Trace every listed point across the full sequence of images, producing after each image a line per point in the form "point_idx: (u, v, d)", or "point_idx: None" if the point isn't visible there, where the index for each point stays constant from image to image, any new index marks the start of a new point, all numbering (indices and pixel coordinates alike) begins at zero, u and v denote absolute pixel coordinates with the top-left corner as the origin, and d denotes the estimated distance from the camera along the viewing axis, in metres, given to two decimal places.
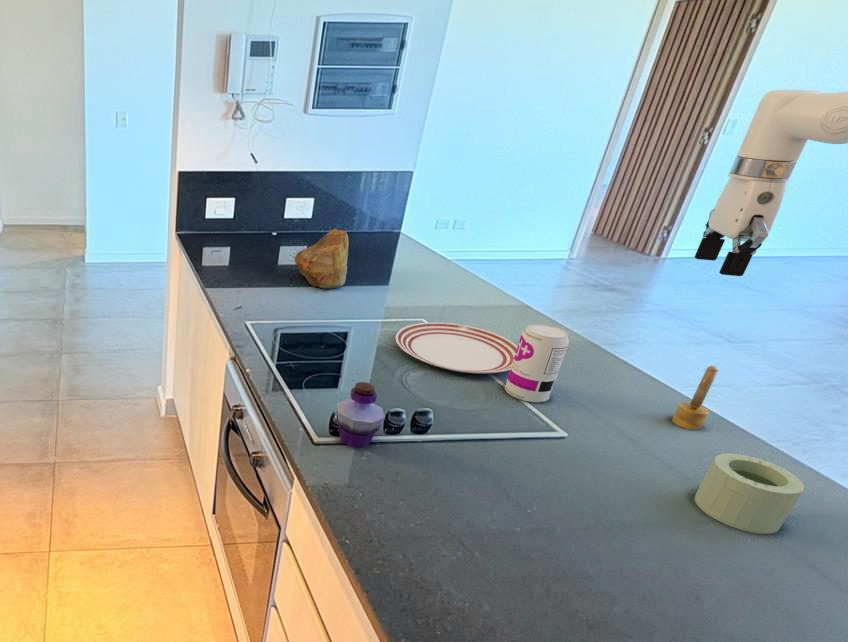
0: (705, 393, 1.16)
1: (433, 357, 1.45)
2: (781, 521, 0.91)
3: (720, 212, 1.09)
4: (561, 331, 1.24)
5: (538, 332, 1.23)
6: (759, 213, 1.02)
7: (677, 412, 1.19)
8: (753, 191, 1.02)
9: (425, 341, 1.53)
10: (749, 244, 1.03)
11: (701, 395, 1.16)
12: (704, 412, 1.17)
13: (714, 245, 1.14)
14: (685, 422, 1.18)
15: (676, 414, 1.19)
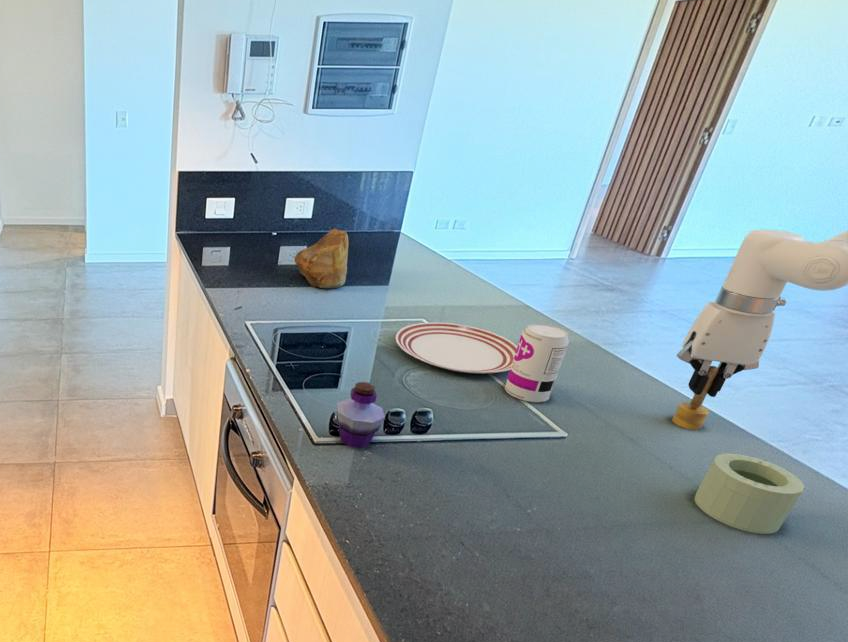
0: (705, 393, 1.16)
1: (433, 357, 1.45)
2: (781, 521, 0.91)
3: (724, 345, 1.10)
4: (561, 331, 1.24)
5: (538, 332, 1.23)
6: None
7: (677, 412, 1.19)
8: None
9: (425, 341, 1.53)
10: (743, 368, 1.12)
11: (701, 395, 1.16)
12: (704, 412, 1.17)
13: None
14: (685, 422, 1.18)
15: (676, 414, 1.19)
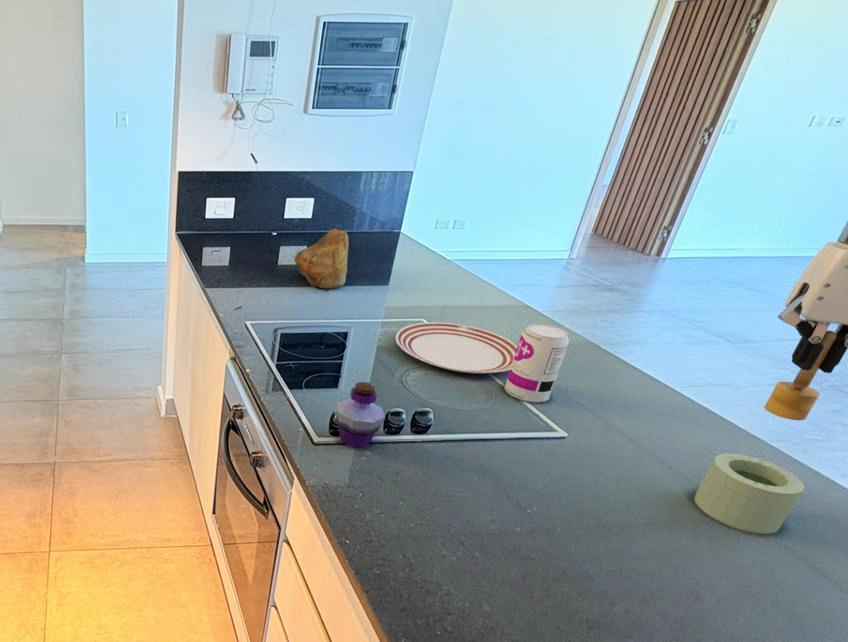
0: (816, 368, 0.86)
1: (433, 357, 1.45)
2: (781, 521, 0.91)
3: None
4: (561, 331, 1.24)
5: (538, 332, 1.23)
6: None
7: (774, 394, 0.89)
8: None
9: (425, 341, 1.53)
10: None
11: (810, 371, 0.86)
12: (814, 394, 0.86)
13: None
14: (785, 408, 0.88)
15: (772, 397, 0.89)
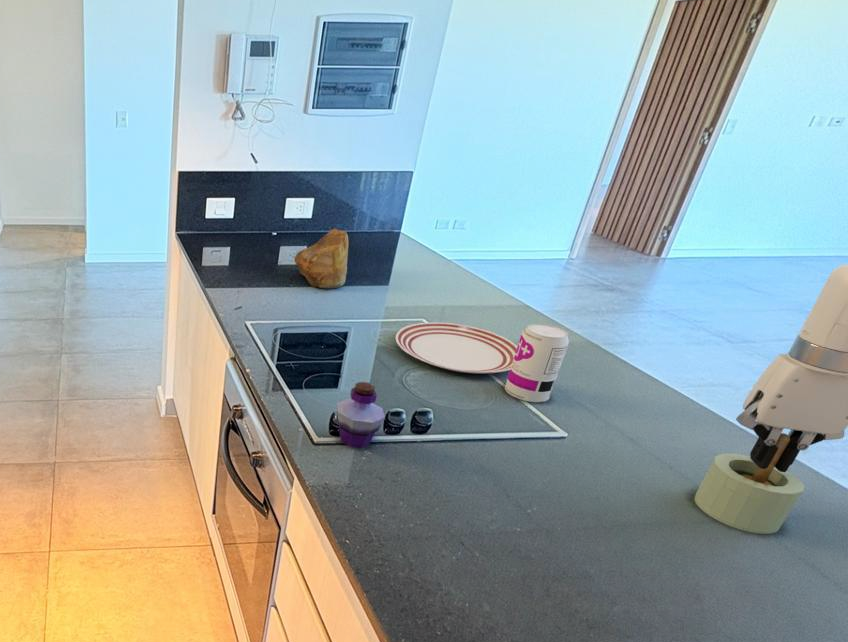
0: (772, 467, 0.92)
1: (433, 357, 1.45)
2: (781, 521, 0.91)
3: (800, 410, 0.86)
4: (561, 331, 1.24)
5: (538, 332, 1.23)
6: None
7: None
8: None
9: (425, 341, 1.53)
10: (823, 438, 0.88)
11: (767, 469, 0.92)
12: None
13: None
14: None
15: None
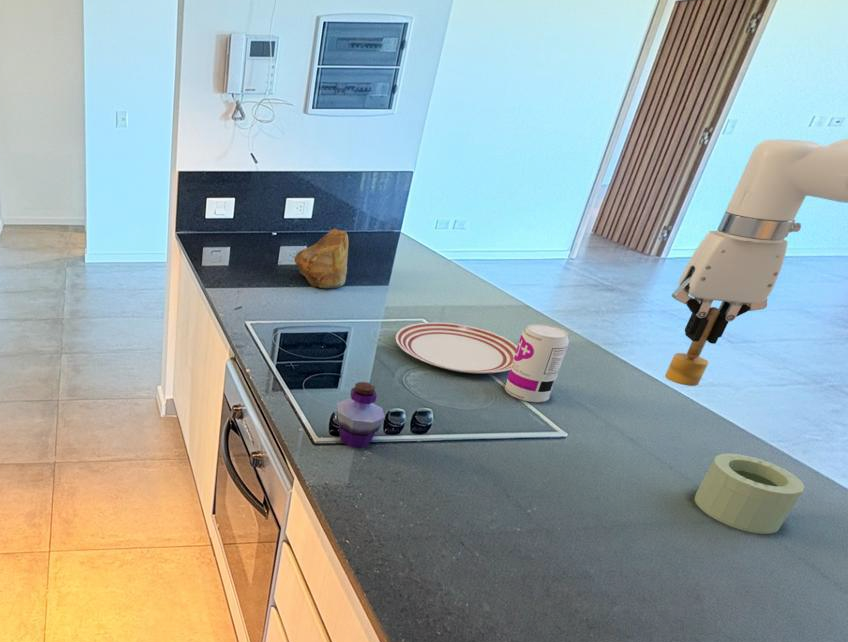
0: (704, 340, 0.99)
1: (433, 357, 1.45)
2: (781, 521, 0.91)
3: (727, 280, 0.94)
4: (561, 331, 1.24)
5: (538, 332, 1.23)
6: None
7: (671, 363, 1.03)
8: (785, 253, 0.91)
9: (425, 341, 1.53)
10: (748, 309, 0.96)
11: (699, 342, 1.00)
12: (702, 363, 1.00)
13: None
14: (679, 375, 1.02)
15: (670, 366, 1.03)
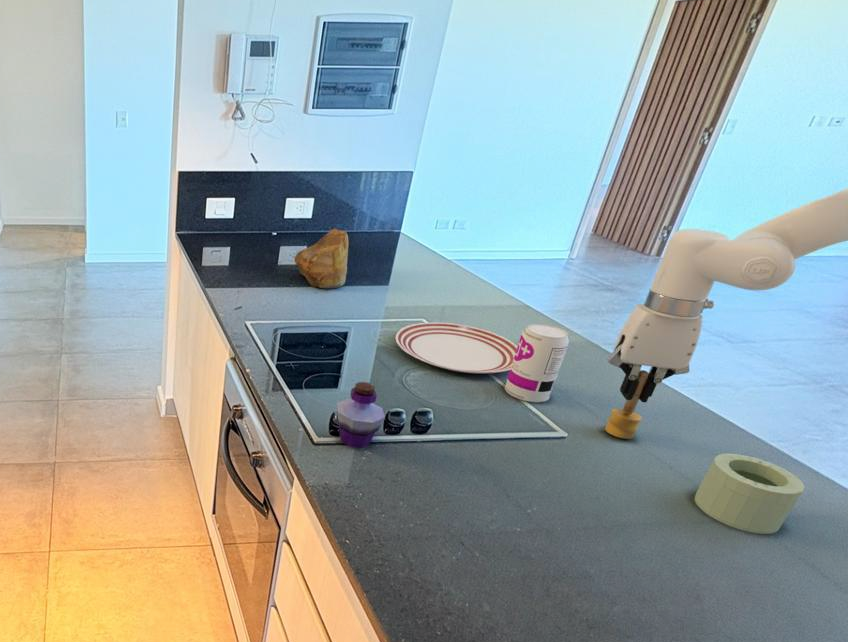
0: (636, 398, 1.12)
1: (433, 357, 1.45)
2: (781, 521, 0.91)
3: (652, 349, 1.06)
4: (561, 331, 1.24)
5: (538, 332, 1.23)
6: None
7: (610, 418, 1.15)
8: None
9: (425, 341, 1.53)
10: (673, 373, 1.08)
11: (632, 400, 1.12)
12: (636, 418, 1.12)
13: None
14: (616, 429, 1.14)
15: (609, 420, 1.16)
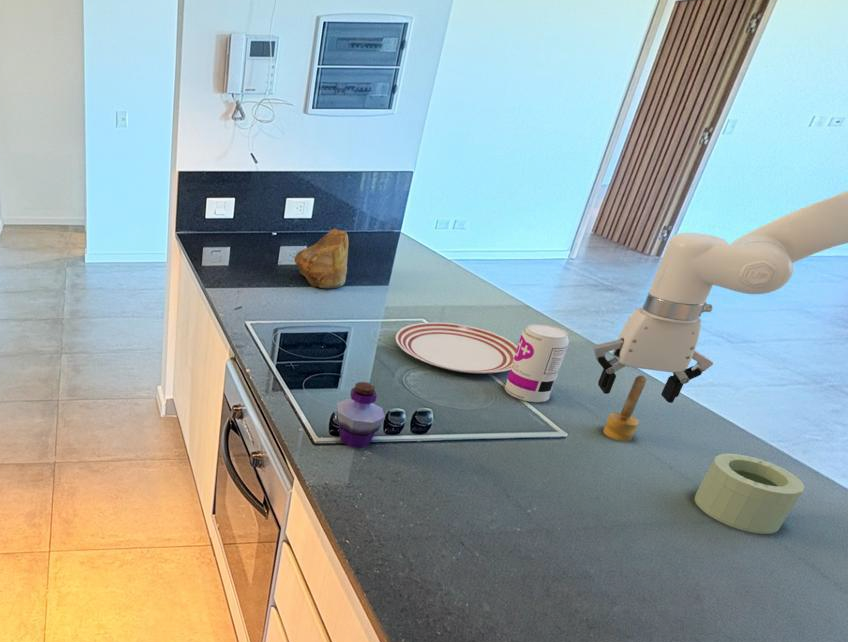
0: (634, 403, 1.12)
1: (433, 357, 1.45)
2: (781, 521, 0.91)
3: (651, 352, 1.07)
4: (561, 331, 1.24)
5: (538, 332, 1.23)
6: None
7: (607, 422, 1.16)
8: (699, 330, 1.03)
9: (425, 341, 1.53)
10: (701, 373, 1.07)
11: (630, 405, 1.12)
12: (633, 423, 1.13)
13: None
14: (613, 433, 1.15)
15: (606, 424, 1.16)
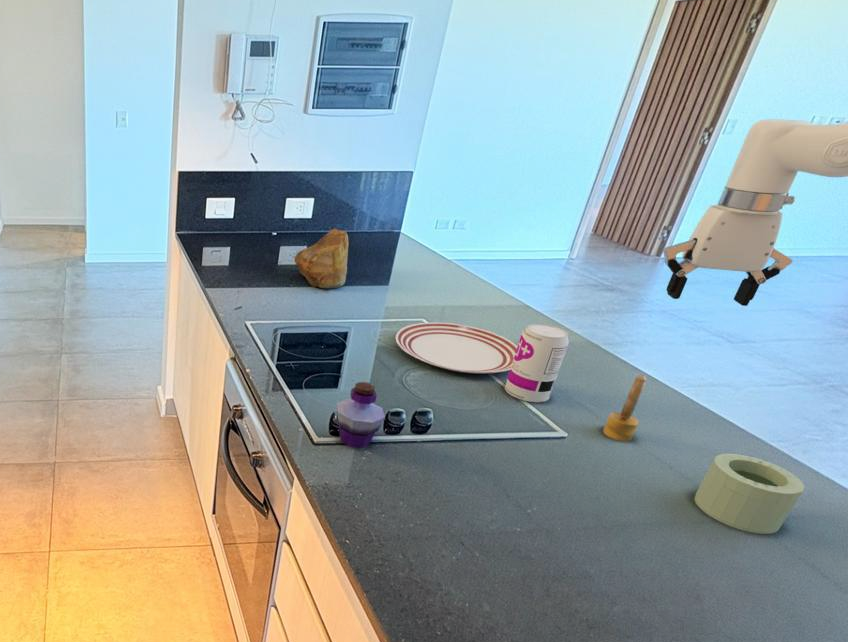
0: (634, 403, 1.12)
1: (433, 357, 1.45)
2: (781, 521, 0.91)
3: (727, 250, 1.02)
4: (561, 331, 1.24)
5: (538, 332, 1.23)
6: None
7: (607, 422, 1.16)
8: (780, 224, 0.99)
9: (425, 341, 1.53)
10: (779, 272, 1.02)
11: (630, 405, 1.12)
12: (633, 423, 1.13)
13: None
14: (613, 433, 1.15)
15: (606, 424, 1.16)
